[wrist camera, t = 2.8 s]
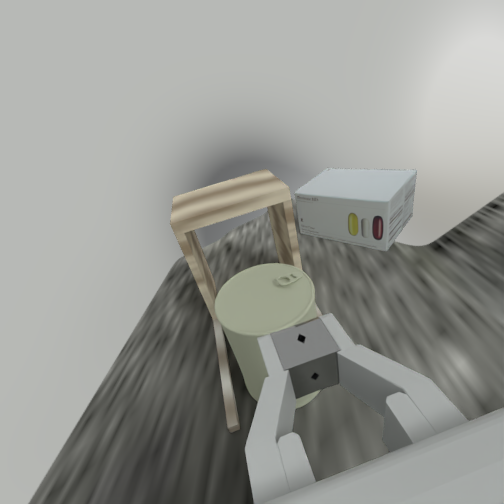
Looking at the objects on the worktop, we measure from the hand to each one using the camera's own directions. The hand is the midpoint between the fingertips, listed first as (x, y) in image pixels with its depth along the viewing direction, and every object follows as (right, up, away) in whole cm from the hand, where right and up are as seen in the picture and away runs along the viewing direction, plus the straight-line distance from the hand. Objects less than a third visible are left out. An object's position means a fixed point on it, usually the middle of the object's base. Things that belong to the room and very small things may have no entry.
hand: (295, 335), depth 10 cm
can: (+2, -10, +19) cm, 22 cm away
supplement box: (+18, +8, +41) cm, 46 cm away
